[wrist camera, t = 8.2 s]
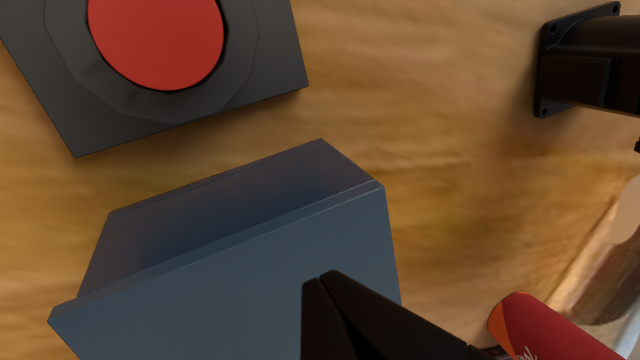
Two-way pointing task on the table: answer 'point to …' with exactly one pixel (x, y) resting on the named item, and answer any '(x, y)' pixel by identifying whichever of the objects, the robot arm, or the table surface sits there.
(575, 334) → the paper cup
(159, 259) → the storage box
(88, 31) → the push button switch
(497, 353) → the chocolate bar
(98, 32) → the red button
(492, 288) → the table surface
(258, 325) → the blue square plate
